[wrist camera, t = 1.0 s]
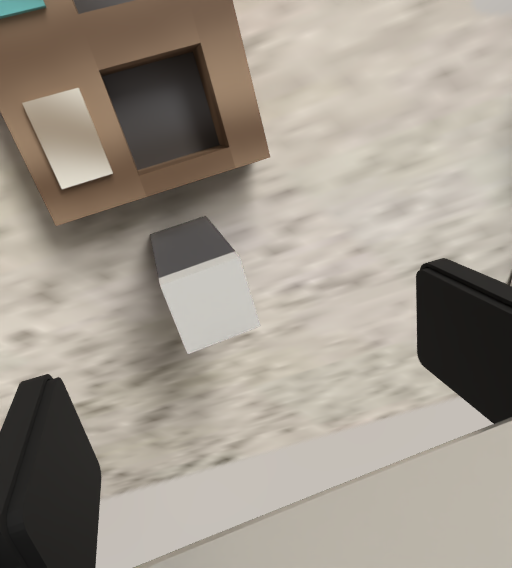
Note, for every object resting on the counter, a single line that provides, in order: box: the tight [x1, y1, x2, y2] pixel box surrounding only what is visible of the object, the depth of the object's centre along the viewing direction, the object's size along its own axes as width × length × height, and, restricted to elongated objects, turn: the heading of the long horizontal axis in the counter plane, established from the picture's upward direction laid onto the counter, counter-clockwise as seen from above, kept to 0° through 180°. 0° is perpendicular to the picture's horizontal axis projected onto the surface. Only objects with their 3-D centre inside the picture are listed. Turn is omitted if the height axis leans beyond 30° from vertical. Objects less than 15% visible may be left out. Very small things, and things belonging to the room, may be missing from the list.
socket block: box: [0, 0, 270, 226], centre depth 22 cm, size 16×13×4 cm
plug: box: [150, 216, 261, 354], centre depth 25 cm, size 4×4×10 cm
